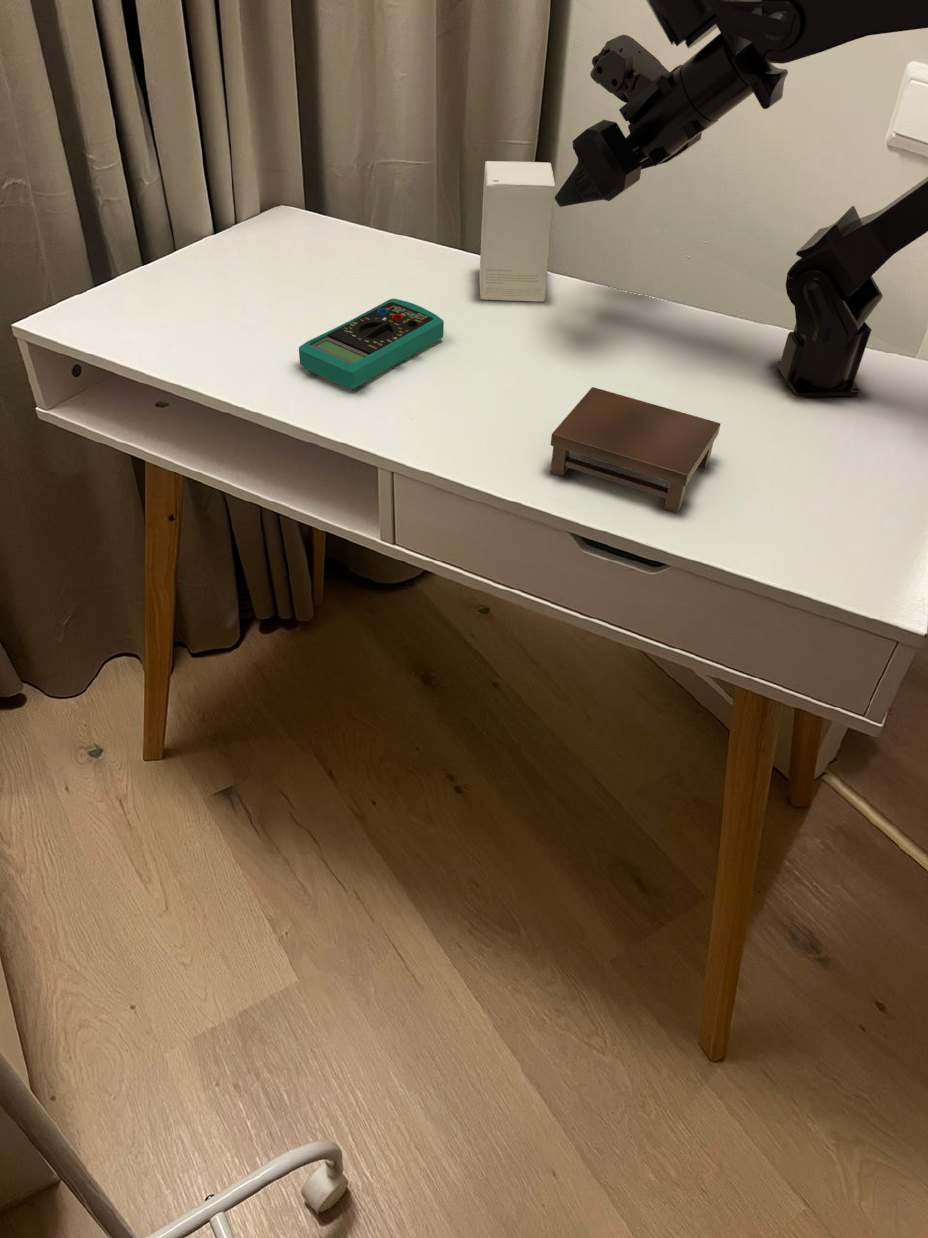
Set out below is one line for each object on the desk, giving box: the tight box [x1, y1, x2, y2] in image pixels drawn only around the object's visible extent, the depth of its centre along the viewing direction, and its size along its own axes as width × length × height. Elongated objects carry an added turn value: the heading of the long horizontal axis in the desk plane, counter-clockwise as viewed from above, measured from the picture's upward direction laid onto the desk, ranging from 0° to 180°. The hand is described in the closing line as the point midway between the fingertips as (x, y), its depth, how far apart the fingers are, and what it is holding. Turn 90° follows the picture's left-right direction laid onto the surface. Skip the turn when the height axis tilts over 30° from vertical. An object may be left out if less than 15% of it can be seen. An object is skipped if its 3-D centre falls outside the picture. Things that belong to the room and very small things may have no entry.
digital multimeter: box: [298, 298, 445, 390], centre depth 100 cm, size 7×15×3 cm, turn 142°
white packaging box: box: [478, 160, 556, 303], centre depth 108 cm, size 7×7×13 cm
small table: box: [550, 386, 721, 513], centre depth 86 cm, size 12×9×4 cm
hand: (579, 188), depth 101 cm, fingers open, 9 cm apart
